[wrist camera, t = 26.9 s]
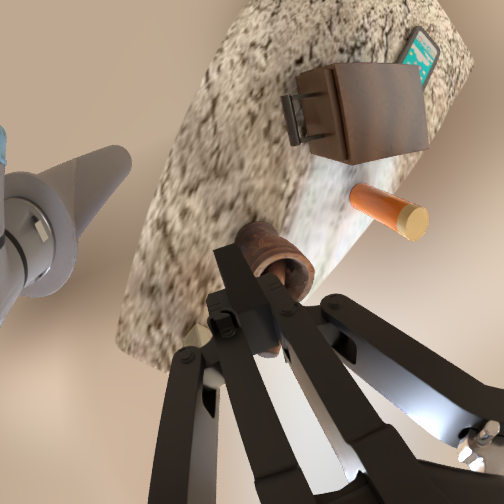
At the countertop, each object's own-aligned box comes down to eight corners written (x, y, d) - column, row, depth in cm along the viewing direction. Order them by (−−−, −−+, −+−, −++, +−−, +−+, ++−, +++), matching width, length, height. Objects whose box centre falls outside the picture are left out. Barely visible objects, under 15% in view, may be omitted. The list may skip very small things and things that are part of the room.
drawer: (281, 160, 42) (307, 169, 35) (264, 81, 37) (287, 72, 29) (381, 139, 45) (415, 146, 37) (370, 72, 39) (405, 68, 31)
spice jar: (345, 207, 50) (400, 239, 37) (353, 179, 48) (412, 204, 35) (367, 211, 51) (422, 243, 38) (374, 185, 49) (433, 210, 36)
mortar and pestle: (267, 283, 52) (314, 362, 35) (220, 279, 49) (251, 364, 32) (286, 223, 48) (351, 284, 30) (236, 214, 45) (281, 277, 28)
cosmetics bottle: (200, 348, 54) (207, 386, 46) (181, 339, 52) (186, 378, 44) (215, 331, 53) (226, 369, 45) (196, 321, 51) (204, 360, 43)
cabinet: (315, 155, 44) (351, 165, 35) (299, 73, 38) (334, 63, 29) (387, 140, 46) (428, 149, 37) (376, 69, 40) (418, 65, 31)
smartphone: (442, 51, 39) (421, 97, 43) (439, 51, 40) (418, 97, 44) (418, 22, 36) (395, 68, 39) (415, 23, 36) (391, 68, 40)
